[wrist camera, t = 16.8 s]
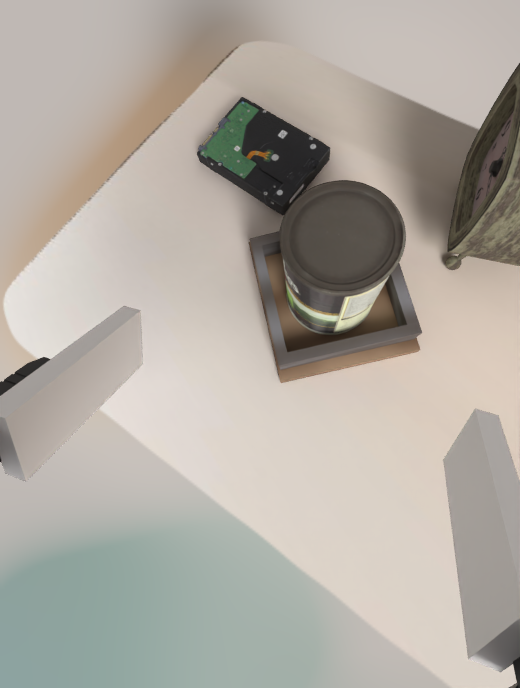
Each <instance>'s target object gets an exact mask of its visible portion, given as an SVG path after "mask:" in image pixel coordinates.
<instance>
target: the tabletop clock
mask: <svg viewBox="0 0 520 688" xmlns="http://www.w3.org/2000/svg"><path fill="white" fill-rule="evenodd" d="M448 252H451V253H456V254H459V255H458V256H452V257H449V258H448V259H447V261H446V266H447V268H448V269H450V270H455V269H458V268H459V267H460V265H461V259H463V258H464V257H466V256H471V257H476V258H481V259H486V260H492V261H497V262H502V263H507V264H512V265H517V266H520V63H519V65H518V66H517V68H516V69H515V71H514V72H513V74H512V75H511V77H510V78H509V80H508V82H507V83H506V85H505V87H504V88H503V90H502V91H501V93H500V95H499V96H498V98H497V100H496V101H495V103H494V105H493V107H492V108H491V110H490V112H489V114H488V116H487V117H486V119H485V121H484V123H483V124H482V126H481V128H480V130H479V132H478V134H477V136H476V138H475V140H474V142H473V144H472V146H471V148H470V150H469V152H468V155H467V157H466V161H465V164H464V167H463V171H462V175H461V179H460V183H459V187H458V192H457V196H456V201H455V205H454V210H453V216H452V221H451V227H450V233H449V239H448Z"/></svg>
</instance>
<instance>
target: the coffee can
mask: <svg viewBox="0 0 520 688" xmlns="http://www.w3.org/2000/svg"><path fill="white" fill-rule="evenodd" d="M279 240H280V249H281V253H282V257H283V264H284V271H285V280H286V289H287V294H286V297H287V303H288V306H289V309H290V311H291V313H292V315H293V316H294V318H295V319H296V320H297V321H298V322H299V323H300V324H301V325H302V326H303V327H305V328H307V329H308V330H310V331H312V332H315V333H318V334H324V335H338V334H342V333H346V332H348V331H350V330H352V329H354V328H355V327H357V326H358V325H360V324H361V323H362V322H363V321H364V320H365V319H366V317H367V316H368V314H369V312H370V310H371V308H372V305H373V304H374V302H375V300H376V298H377V297H378V295H379V293H380V291H381V289H382V288H383V286H384V284H385V282H386V281H387V279H388V277H389V275H390V274H391V273H392V272H393V271H394V269H395V268H396V266H397V265H398V263H399V261H400V259H401V257H402V254H403V251H404V247H405V241H406V232H405V225H404V222H403V219H402V216H401V214H400V212H399V210H398V209H397V207H396V206H395V204H394V203H393V202H392V201H391V200H390V199H389V198H388V197H387V196H386V195H385V194H383V193H382V192H381V191H379V190H377V189H375V188H373V187H371V186H369V185H366V184H364V183H360V182H356V181H348V180H339V181H332V182H327V183H323V184H320V185H317V186H315V187H313V188H311V189H309V190H307V191H306V192H304V193H303V194H301V195H300V196H299V197H298V198H297V199H296V200H295V201H294V202H293V203H292V205H291V206H290V207H289V209H288V210H287V212H286V214H285V216H284V218H283V220H282V223H281V227H280V235H279Z"/></svg>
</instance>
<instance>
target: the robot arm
mask: <svg viewBox="0 0 520 688" xmlns="http://www.w3.org/2000/svg"><path fill="white" fill-rule="evenodd" d="M142 364H143V355H142V332H141V311H140V310H136V309H133V308H130V307H126V306H123V307H122V308H120V309H119V310H118V311H116V312H115V313H114V314H112V315H111V316H109V317H108V318H107V319H105V320H104V321H103V322H101V323H100V324H98V325H97V326H96V327H94V328H93V329H92V330H90V331H89V332H88V333H86V334H85V335H83V336H82V337H81V338H79V339H78V340H77V341H75V342H74V343H72V344H71V345H70V346H68V347H67V348H66V349H64V350H63V351H61V352H60V353H59V354H57V355H56V356H55V357H53V358H52V359H48V358H45V357H43V358H40V359H37V360H35V361H32V362H30V363H27V364H26V365H25V366H23V367H22V368H20V369H19V370H17V371H16V372H15V374H12V375H10V376H9V377H7V378H6V379H5V380H4V382H2V381H1V382H0V462H1V463H2V466H3V468H4V471H5V473H6V474H8V475H11V476H13V477H15V478H18V479H20V480H23V481H27V480H28V479H29V478H30V477H31V476H32V475H33V474H34V473H35V472H36V471H37V470H38V469H39V468H40V467H41V466H42V465H43V464H44V463H45V462H46V461H47V460H48V459H49V458H50V457H51V456H52V455H53V454H54V453H55V452H56V451H57V450H58V449H59V448H60V447H61V446H62V445H63V444H64V443H65V442H66V441H67V440H68V439H69V438H70V437H71V436H72V435H73V434H74V433H75V432H76V431H77V430H78V429H79V428H80V427H81V426H82V425H83V424H84V423H85V422H86V421H87V420H88V419H89V418H90V417H91V416H92V415H93V414H94V413H95V412H96V411H97V410H98V409H99V408H100V407H101V406H102V405H103V404H104V403H105V402H106V401H107V400H108V399H109V398H110V397H111V396H112V395H113V394H114V393H115V392H116V391H117V390H118V389H119V388H120V386H121V385H122V384H123V383H124V382H125V381H126V380H127V379H128V378H129V377H130V376H131V375H132V374H133V373H134V372H135V371H136V370H137V369H138V368H139V367H140V366H141V365H142ZM443 461H444V469H445V477H446V485H447V493H448V501H449V509H450V517H451V525H452V533H453V541H454V549H455V557H456V565H457V573H458V581H459V589H460V597H461V605H462V613H463V621H464V629H465V637H466V645H467V653H468V659H469V660H471V661H474V662H476V663H479V664H481V665H484V666H486V667H489V668H491V669H494V670H496V671H499V672H502V671H503V670H504V669H506V668H507V667H509V666H510V665H512V664H513V665H514V670H515V675H516V680H517V683H516V684H514V685H513V686H511V687H509V688H520V482H519V479H518V476H517V472H516V469H515V466H514V463H513V460H512V457H511V454H510V451H509V447H508V444H507V441H506V438H505V435H504V432H503V429H502V426H501V422H500V419H499V416H498V415H495V414H492V413H488V412H485V411H481V410H478V409H475V410H474V411H473V413H472V415H471V416H470V418H469V419H468V421H467V423H466V424H465V426H464V427H463V429H462V431H461V432H460V434H459V435H458V437H457V439H456V440H455V442H454V443H453V445H452V447H451V448H450V450H449V451H448V453H447V455H446V456H445V458H444V459H443Z"/></svg>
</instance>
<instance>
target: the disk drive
mask: <svg viewBox="0 0 520 688" xmlns="http://www.w3.org/2000/svg"><path fill="white" fill-rule="evenodd" d="M218 125H219V127H217V128H216V129H215V130H214V131H213V134H211V135H210V136H209V137H208V138H207V139H206V141H205V142H204V143H203V144H202V146H201V145H200V146H199V148H198V150H199V151H198V152H197V155H198V158H199V160H200V162H201V163H203V164H204V165H206V166H207V167H209V168H210V169H211V170H213V171H214V172H216V173H218V174H220V175H221V176H223V177H224V178H226V179H227V180H229V181H231V182H232V183H234V184H235V185H237V186H238V187H240V188H241V189H243V190H244V191H246V192H248V193H249V194H251V195H252V196H254V197H255V198H257V199H259V200H260V201H262V202H263V203H265V204H266V205H267V206H269V207H270V208H272V209H273V210H276V211H277V212H279V213H280V214H282V215H284V214H285V213H286V212H287V210H288V209H289V207H290V206H291V205H292V203H293V202H294V201H295V200H296V199H297V198H298V197H299V196H300V195H301V194H302V192H303V191H304V190H305V189H306V188H307V186H308V185H309V184H310V183H311V181H312V180H313V179H314V178H315V177H316V175H317V174H318V173H319V172H320V171H321V169H322V168H323V167H324V165H325V164H326V163H327V162H328V161H329V157H330V147H328V146H326V145H325V144H324V143H322V142H321V141H319V140H317V139H315V138H312V137H311V136H310V135H308V134H306V133H304V132H303V131H301V130H299V129H297V128H296V127H294V126H292V125H291V124H289V123H287V122H285V121H284V120H282V119H280V118H278V117H276V116H275V115H273V114H271V113H270V112H268V111H266V110H264V109H262V108H261V107H260V106H258V105H256V104H255V103H252V102H250V101H249V100H247V99H245V98H243V97H242V98H241V99H240V100H239V101H238V102H237V103H236V104H235V106H234V107H233V108H232V109H231V110H230V111H229V112H228V114H227V115H226V116H225V117H224V118H223V119H222V120H221V121H220V122H219V123H218Z"/></svg>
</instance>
